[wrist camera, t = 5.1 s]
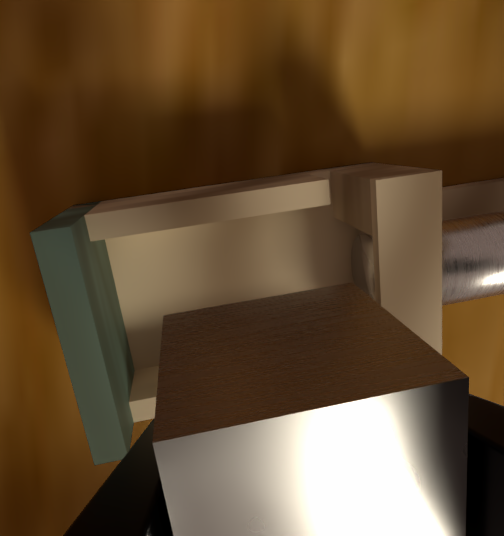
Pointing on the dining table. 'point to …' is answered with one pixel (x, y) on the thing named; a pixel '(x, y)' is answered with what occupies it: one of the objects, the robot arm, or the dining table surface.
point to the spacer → (308, 421)
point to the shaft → (452, 258)
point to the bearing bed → (233, 267)
